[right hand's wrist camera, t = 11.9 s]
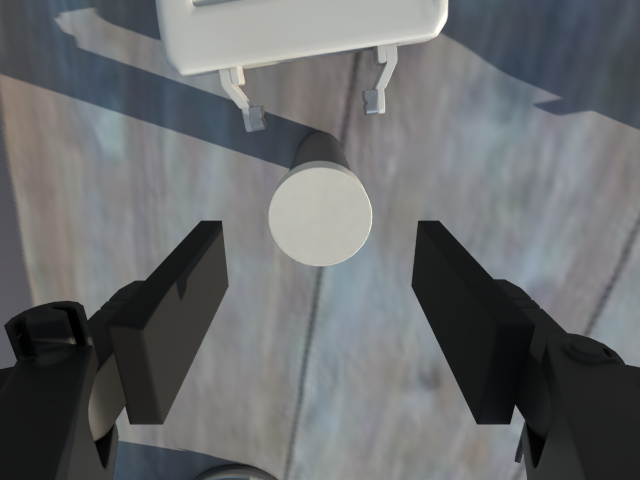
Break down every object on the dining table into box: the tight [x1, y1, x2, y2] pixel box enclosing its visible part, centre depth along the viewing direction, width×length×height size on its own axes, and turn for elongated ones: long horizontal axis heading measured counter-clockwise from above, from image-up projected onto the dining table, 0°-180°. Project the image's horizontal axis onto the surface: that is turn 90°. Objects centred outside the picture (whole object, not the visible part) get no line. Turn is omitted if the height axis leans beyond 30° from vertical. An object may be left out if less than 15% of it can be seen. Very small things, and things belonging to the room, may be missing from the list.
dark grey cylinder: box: [289, 132, 351, 171], centre depth 27 cm, size 4×4×19 cm
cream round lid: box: [268, 161, 372, 266], centre depth 19 cm, size 5×5×2 cm
